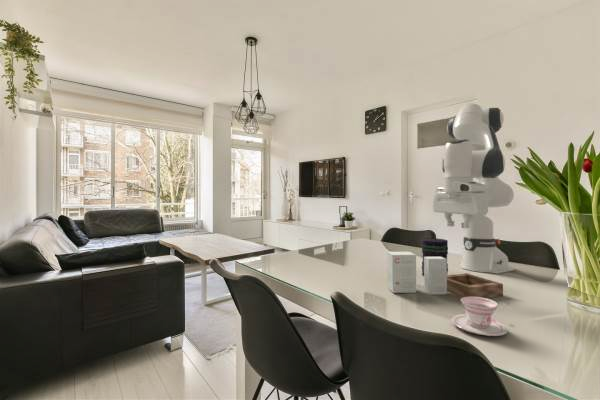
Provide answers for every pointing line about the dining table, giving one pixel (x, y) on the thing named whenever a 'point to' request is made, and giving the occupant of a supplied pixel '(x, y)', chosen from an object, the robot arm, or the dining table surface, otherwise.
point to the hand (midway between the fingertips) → (457, 227)
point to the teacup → (479, 317)
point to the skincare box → (435, 275)
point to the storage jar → (434, 249)
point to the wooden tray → (473, 286)
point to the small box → (402, 272)
